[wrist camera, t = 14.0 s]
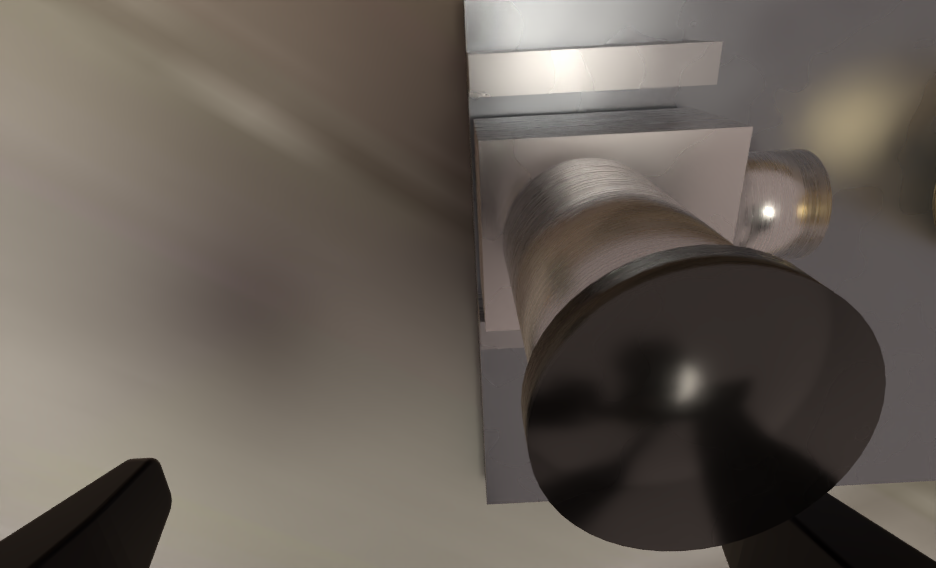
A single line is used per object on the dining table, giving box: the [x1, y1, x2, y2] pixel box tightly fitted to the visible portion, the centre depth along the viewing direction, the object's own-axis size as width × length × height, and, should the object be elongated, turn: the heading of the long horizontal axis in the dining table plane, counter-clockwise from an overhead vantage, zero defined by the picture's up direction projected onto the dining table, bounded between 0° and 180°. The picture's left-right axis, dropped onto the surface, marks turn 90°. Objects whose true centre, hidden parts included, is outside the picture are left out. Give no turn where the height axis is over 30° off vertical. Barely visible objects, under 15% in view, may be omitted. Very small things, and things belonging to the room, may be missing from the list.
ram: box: [473, 107, 886, 551], centre depth 9 cm, size 4×7×8 cm, turn 93°
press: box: [463, 0, 936, 504], centre depth 13 cm, size 15×18×6 cm
